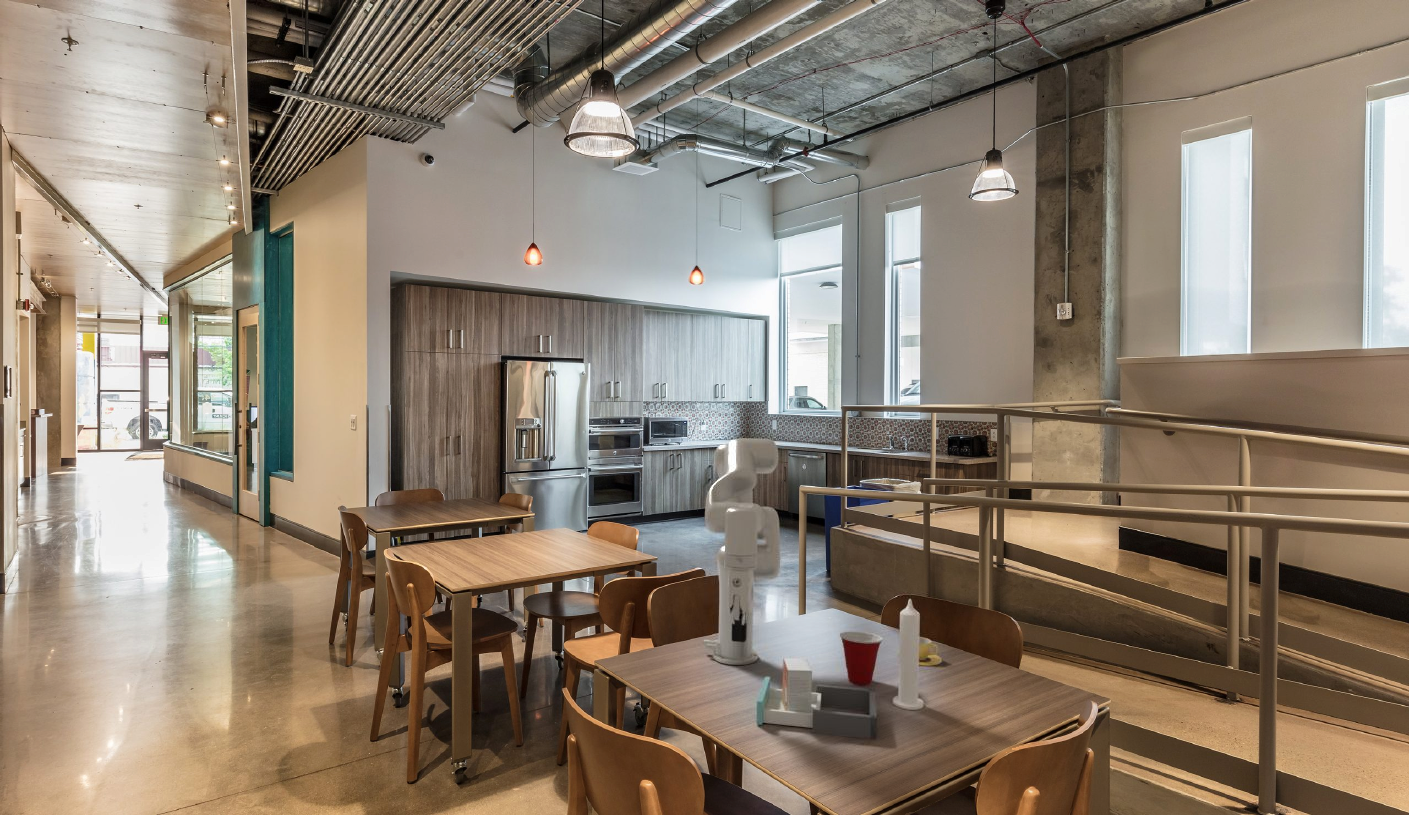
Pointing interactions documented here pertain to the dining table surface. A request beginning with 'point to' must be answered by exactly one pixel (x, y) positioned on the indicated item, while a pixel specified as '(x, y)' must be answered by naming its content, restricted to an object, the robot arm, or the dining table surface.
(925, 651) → the cup
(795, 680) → the small box
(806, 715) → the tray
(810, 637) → the dining table surface
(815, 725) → the bay
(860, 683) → the plastic cup
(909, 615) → the candle
